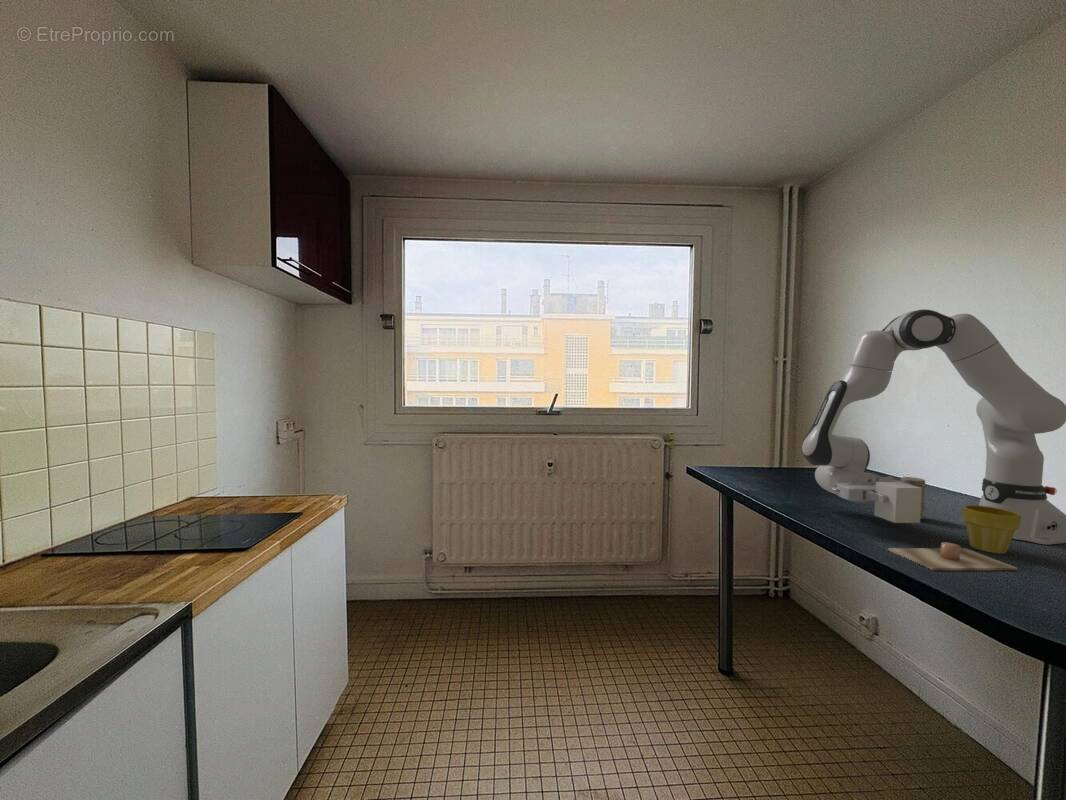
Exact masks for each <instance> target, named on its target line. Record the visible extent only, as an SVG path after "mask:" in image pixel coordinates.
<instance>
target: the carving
mask: <svg viewBox="0 0 1066 800" xmlns="http://www.w3.org/2000/svg"><path fill="white" fill-rule="evenodd" d="M900 481H902V482H905V483H908V484H911V485H914V486H917V487H921V488H922V496H921V515H920V520H922V519H924V515H925V489H926V480H925V479H924V478H919V477H912V476H911V477H910V476H901V478H900Z"/></svg>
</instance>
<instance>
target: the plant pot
mask: <svg viewBox="0 0 1066 800" xmlns="http://www.w3.org/2000/svg"><path fill="white" fill-rule="evenodd" d="M961 516H962V517H961V519H962V520H963V521H964V522H965V527H966V532H967V537H968V542H969V546H970V547H971V548H973V549H975V550H978V551H982V552H985V551H986V552H985V553H990V552H991V554H997V555H998V554H999V555H1000V554H1002V555H1003V554H1006V553H1007V552H1008V549H1009V547H1010V544H1011V542H1012V537H1013V534H1014V532H1015V530H1017V529H1019V526H1020V519H1021V516H1020V514H1018V513H1016V512H1012V511H1009V510H1005V509H1000V508H995V507H988V506H980V505H979V504H965V505H963V506H962V513H961Z"/></svg>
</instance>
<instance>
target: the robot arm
mask: <svg viewBox="0 0 1066 800" xmlns="http://www.w3.org/2000/svg"><path fill="white" fill-rule="evenodd" d="M933 347H937V348H938V349H939V350H940V351H942V352H944V354H945V356H946V357H947V358H948V360H949V361H950V363H951V364H952V366H953V367H954V368H955V370H956V372H957V373H958V374H959V375H960V376H961V378H962V380H963V381H964V382H965V383H966V385H967V386H969V388H971V389H973V390H974V391H976V393H978V395H980V396H981V398H980V399H979V401H978V402H977V404H976V407H975V410H976V415H977V416H978V418H979V419H980V422H981V425H982V430H983V431H982V432H983V436H984V441H985V448H986V458H985V459H986V460H985V476H984V478H982V483H981V491H982V493H983V494H982V495H981V496H980V500H979V503H978V505H980V506H988V507H995V508H1000V509H1005V510H1009V511H1012V512H1016V513H1018V514H1020V516H1021V519H1020V526H1019V529H1017V530H1015V532H1014V534H1013V537H1012V539H1013V540H1019V541H1026V542H1031V543H1035V544H1039V545H1057V544H1059V545H1060V544H1066V514H1065V513H1064V512H1063V511H1062V510H1061V509H1059V508H1058V507H1057V506H1055V505H1054V504H1053V503H1051V502H1050V501H1049V500H1048V496H1047V494H1048V495H1049V496H1050V495H1051V496H1055V495H1056V494H1057V492H1058V490H1057V488H1056V487H1054V486H1053V487H1052V486H1051V487H1050V486H1047V485H1045V486H1044V485H1043V476H1044V475H1043V474H1044V473H1043V472H1044V462H1045V457H1044V454H1043V452H1042V451H1041V450H1040V447H1039V445H1038V442H1037V439H1036V435H1037V434H1044V433H1046V434H1047V433H1051V432H1054V431H1057V430H1059V429H1060V428H1061V427H1063V426H1064V425H1065V423H1066V404H1065V402H1064V401H1062V399H1060V398H1058V397H1057V396H1054V395H1053V394H1051V393H1050V392H1048V391H1047V390H1046V389H1044V387H1042V385H1040V384H1039V383H1038V382H1037V381H1036V380H1034V379H1033V378H1032V377H1031V376H1030V375H1029V374H1027V372H1026V371H1024V370H1023V369H1022V368H1021V367H1020V366H1019V365H1018V364H1017V363H1016V362H1015V361H1014V359H1013V358H1012V357H1011V355H1009V353H1008V351H1006V349H1005V348H1004V346H1003V345H1002V344H1001V343H1000V341H999V340H998V339H997V337H996V335H994V334H993V333H992V331H991V330H990V329H989V328H988V327H987V326H986V325H985V324H983V322H981V320H980V319H978V318H977V317H976V316H974V315H972V314H970V313H957V314H953V315H951V316H948V315H945V314H943V313H940V312H938V311H935V310H932V309H925V308H924V309H918V310H911V311H908V312H905V313H903V314H901V315H899V316H897V317H895V318H894V319H892V320H891V321H890V322H889V323H888V324H887V325H885V327H884V328H883V329H882V330H869V331H866V332H864V333H862V334H861V335H860V336H859V337H858V339H857V341H856V343H855V345H854V348H853V350H852V352H851V354H850V357H849V360H848V365H847V368H846V370H845V372H844V374H842V377H841V378H839V380H838V381H835V382H834V383H833V384H832V385H831V386H830V388H829V389H828V391H827V392H826V395H825V397H824V399H823V402H822V403H821V405H820V407H819V411H818V412H817V414H816V416H815V419H814V421H813V424H812V426H811V428H810V429H809V431H808V433H807V434H806V435H805V437H804V438H803V441H802V443H801V450H800V451H801V453H802V455H803V457H804V458H805V460H806V461H807V462H808V463H809V464H810V465H812V466H818V467H817V468H816V469H815V472H814V478H815V481H816V483H817V484H818V485H819V486H820V487H821V488H822V489H824V490H826V491H828V492H829V493H832V494H834V495H837V497H840V498H842V499H843V500H847V501H850V502H857V503H859V504H870V503H872V502H875V501H879V502H888V496H887V495H884V494H877V493H875V492H876V482H902V481H901V480H898V479H894V477H893V476H890V475H881V474H875V473H871V472H866V470H867V469H868V467H869V465H870V461H871V454H870V453H871V451H870V449H869V448H870V447H868V444H867V443H866V442H865V441H864V440H862V439H861V438H858V437H851V436H846V435H845V436H844V435H843V436H842V435H836V434H833V431H834V429H835V427H836V425H837V422H838V420H839V419H840V416H841V414H842V412H843V410H844V409H845V407H847V406H848V405H850V404H852V403H856V402H859V401H863V400H868V399H873V398H874V397H876V396H878V395H880V394H882V393H883V392H884V391H885V390H886V389H887V388H888V385H889V384H890V381H891V378H892V373H893V370H894V366H895V361H896V360H897V358H898V357H899V355H900V354H901V353H903V352H904V351H920V350H923V349H929V348H933ZM902 483H905V482H902ZM906 484H908V483H906ZM910 485H911V484H910ZM913 486H914V485H913ZM1012 539H1011V540H1012Z"/></svg>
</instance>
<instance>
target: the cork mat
mask: <svg viewBox="0 0 1066 800" xmlns="http://www.w3.org/2000/svg"><path fill="white" fill-rule="evenodd" d="M888 550H889V552H890V553H893V554H896V555H898V556H899V555H900V556H899V557H902V558H904V557H905V559H906V558H907V559H906V560H908V559H909V560H908V561H910V560H912V561H911V562H913V561H914V562H913V563H915V562H916V563H915V564H917V563H918V564H917V565H919V564H920V566H921V565H923V566H925V567H924V568H926V567H927V568H926V569H928V568H929V570H930V569H931V570H930V571H1018V570H1019V568H1018V567H1016V566H1013V565H1011V564H1009V563H1006V562H1003V561H1000V560H997V559H995V558H994V557H993V558H992V557H990V556H987V555H985V554H981V553H980V552H976V551H975V550H971V549H970V548H969V549H968V548H965V547H964V548H962V547H961V549H960V560H949V559H945V558H943V557H941V556H940V552H941V547H937V548H935V547H932V548H931V547H929V548H928V547H924V548H923V547H919V548H916V547H911V548H909V547H908V548H906V547H901V548H900V547H899V548H898V547H894V548H893V547H891V548H890V547H888V548H887V551H888ZM923 566H922V567H923Z"/></svg>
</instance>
